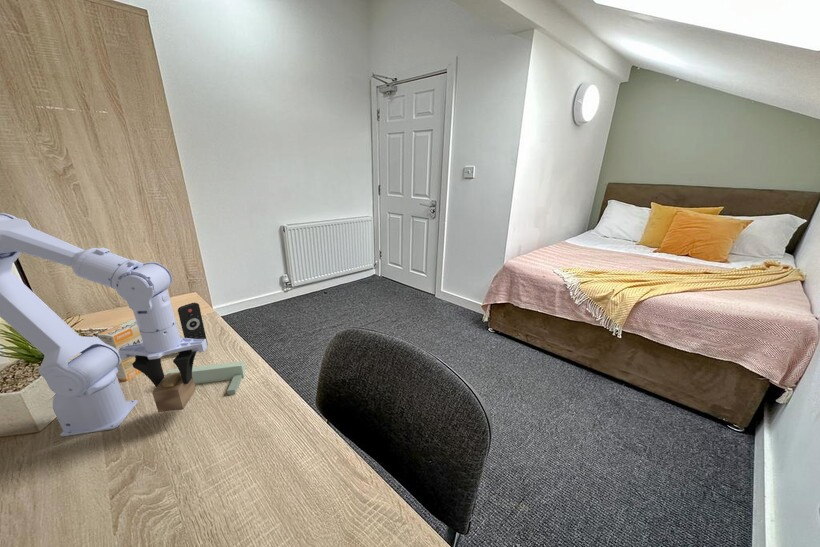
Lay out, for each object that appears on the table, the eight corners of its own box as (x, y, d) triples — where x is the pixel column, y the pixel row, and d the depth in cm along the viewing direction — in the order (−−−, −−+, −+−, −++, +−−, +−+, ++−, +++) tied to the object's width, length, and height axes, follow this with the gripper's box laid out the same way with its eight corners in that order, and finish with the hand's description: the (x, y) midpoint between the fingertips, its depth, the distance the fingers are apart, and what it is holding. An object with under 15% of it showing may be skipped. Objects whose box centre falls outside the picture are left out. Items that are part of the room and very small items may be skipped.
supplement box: (127, 382, 76) (111, 336, 72) (112, 379, 77) (95, 334, 73) (159, 362, 84) (146, 320, 79) (145, 360, 85) (131, 318, 80)
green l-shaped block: (154, 405, 69) (150, 392, 68) (171, 382, 76) (168, 369, 75) (237, 394, 73) (234, 381, 72) (246, 373, 80) (243, 361, 79)
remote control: (191, 355, 87) (178, 308, 82) (188, 353, 88) (175, 306, 83) (209, 347, 91) (198, 301, 86) (206, 345, 92) (195, 300, 87)
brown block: (158, 412, 62) (151, 389, 60) (173, 392, 68) (167, 370, 66) (183, 409, 63) (177, 386, 61) (196, 389, 68) (190, 367, 67)
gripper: (99, 339, 55) (121, 400, 59) (190, 332, 58) (205, 390, 62) (124, 321, 61) (143, 377, 66) (205, 315, 64) (217, 369, 69)
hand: (174, 382), depth 64 cm, fingers closed on brown block, 4 cm apart
